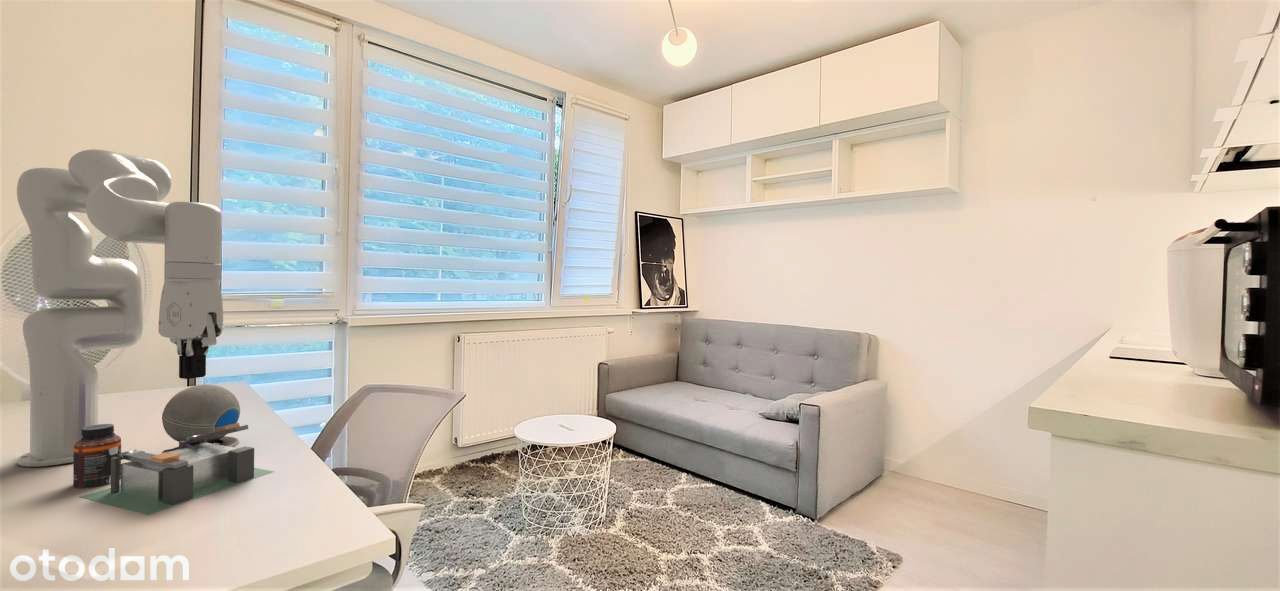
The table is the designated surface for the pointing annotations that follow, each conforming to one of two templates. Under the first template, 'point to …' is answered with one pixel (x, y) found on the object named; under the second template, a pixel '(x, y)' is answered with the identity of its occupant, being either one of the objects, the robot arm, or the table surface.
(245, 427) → the strap
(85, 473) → the supplement bottle
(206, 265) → the robot arm
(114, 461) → the board
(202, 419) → the grey egg-shaped pod
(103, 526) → the table surface
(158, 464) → the strap
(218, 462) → the plate
